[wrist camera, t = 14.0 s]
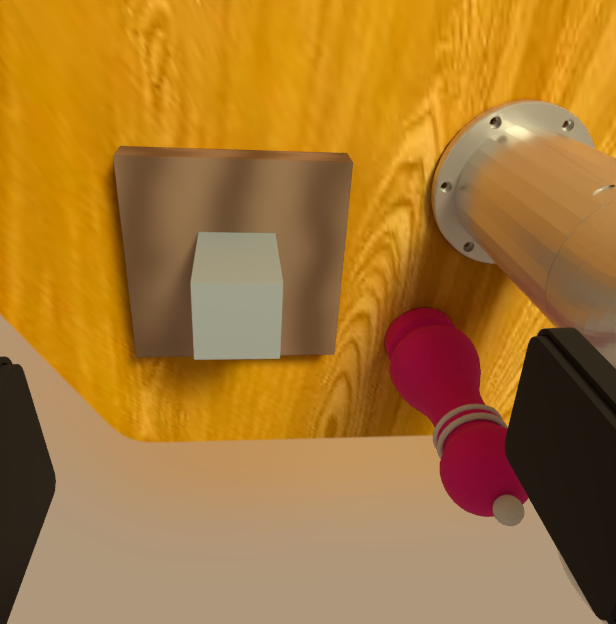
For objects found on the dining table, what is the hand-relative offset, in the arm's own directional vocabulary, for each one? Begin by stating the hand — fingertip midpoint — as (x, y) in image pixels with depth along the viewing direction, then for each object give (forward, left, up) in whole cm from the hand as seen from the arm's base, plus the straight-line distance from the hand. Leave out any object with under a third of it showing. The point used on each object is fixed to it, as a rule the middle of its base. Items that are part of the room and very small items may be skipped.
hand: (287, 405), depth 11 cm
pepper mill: (-15, +19, -33) cm, 41 cm away
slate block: (+1, +11, -30) cm, 32 cm away
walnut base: (+1, +11, -32) cm, 34 cm away
